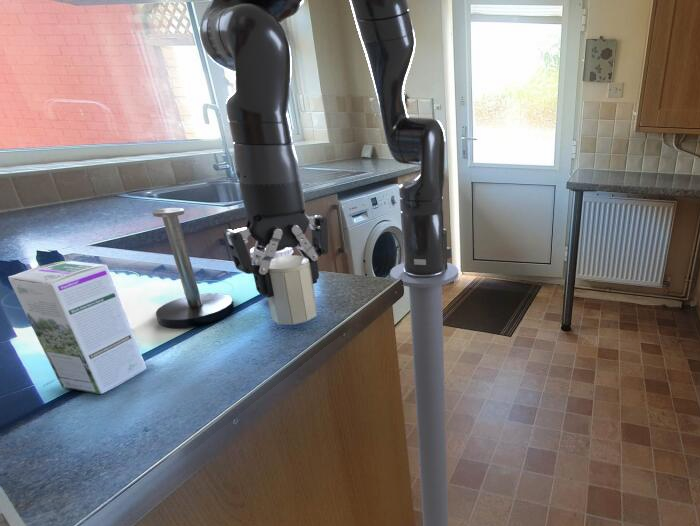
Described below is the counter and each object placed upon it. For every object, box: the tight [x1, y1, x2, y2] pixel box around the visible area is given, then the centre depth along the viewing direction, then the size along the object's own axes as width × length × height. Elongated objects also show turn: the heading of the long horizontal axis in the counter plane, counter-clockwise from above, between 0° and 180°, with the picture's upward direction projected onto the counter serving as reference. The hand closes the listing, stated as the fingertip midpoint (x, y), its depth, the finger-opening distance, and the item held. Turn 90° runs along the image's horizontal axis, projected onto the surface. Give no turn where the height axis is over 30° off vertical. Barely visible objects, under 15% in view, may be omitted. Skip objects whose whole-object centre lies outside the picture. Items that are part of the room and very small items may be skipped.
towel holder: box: [152, 207, 235, 329], centre depth 63 cm, size 10×10×17 cm
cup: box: [267, 255, 318, 326], centre depth 63 cm, size 6×6×9 cm
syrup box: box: [7, 260, 147, 395], centre depth 47 cm, size 6×6×14 cm
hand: (290, 288), depth 63 cm, fingers closed on cup, 6 cm apart
